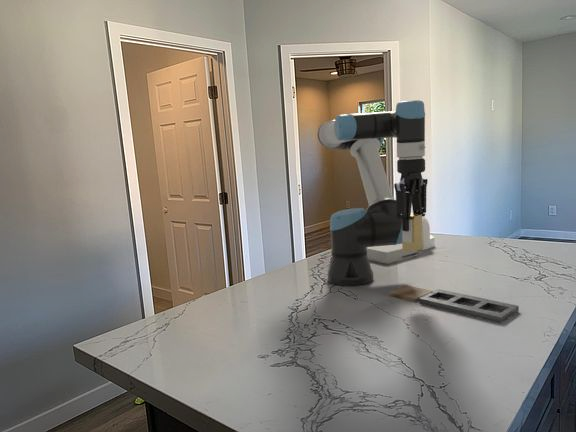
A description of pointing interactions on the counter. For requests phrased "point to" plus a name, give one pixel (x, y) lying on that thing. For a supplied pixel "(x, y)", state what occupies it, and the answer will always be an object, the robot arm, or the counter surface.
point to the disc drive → (389, 253)
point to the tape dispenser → (426, 235)
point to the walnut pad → (409, 293)
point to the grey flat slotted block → (474, 311)
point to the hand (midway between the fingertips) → (412, 240)
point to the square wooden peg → (414, 234)
